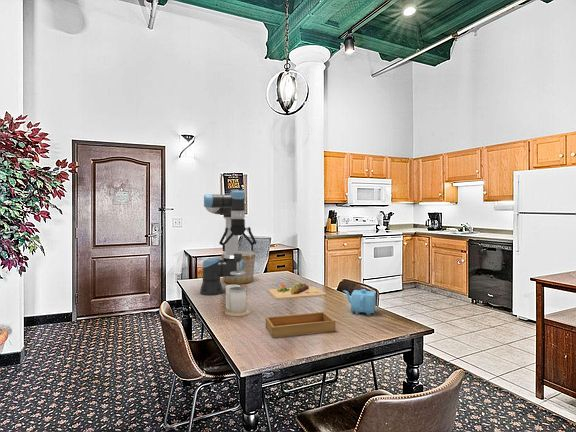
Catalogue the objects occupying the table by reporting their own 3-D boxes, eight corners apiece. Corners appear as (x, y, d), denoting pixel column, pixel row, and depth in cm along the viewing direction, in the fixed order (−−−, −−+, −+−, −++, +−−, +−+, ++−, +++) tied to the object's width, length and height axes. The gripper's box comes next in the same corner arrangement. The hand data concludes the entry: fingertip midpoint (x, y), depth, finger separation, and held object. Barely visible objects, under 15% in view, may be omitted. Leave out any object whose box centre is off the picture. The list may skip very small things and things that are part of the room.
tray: (272, 338, 165) (272, 326, 165) (265, 327, 180) (265, 316, 180) (335, 332, 174) (335, 320, 173) (323, 322, 188) (324, 311, 188)
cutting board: (276, 300, 231) (277, 288, 231) (267, 292, 254) (267, 281, 253) (327, 296, 242) (327, 285, 242) (314, 288, 265) (314, 278, 264)
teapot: (375, 309, 210) (376, 287, 210) (372, 317, 196) (373, 293, 195) (344, 306, 216) (344, 285, 216) (339, 314, 202) (339, 290, 201)
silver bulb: (229, 272, 205) (229, 253, 205) (244, 272, 207) (244, 252, 207) (230, 275, 197) (230, 255, 197) (246, 274, 199) (246, 254, 199)
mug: (246, 304, 219) (246, 287, 219) (226, 306, 216) (226, 288, 216) (244, 301, 227) (244, 284, 227) (225, 302, 224) (225, 284, 224)
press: (224, 309, 208) (224, 286, 208) (248, 308, 212) (248, 285, 211) (226, 317, 195) (226, 292, 194) (252, 315, 198) (252, 290, 198)
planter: (222, 278, 296) (222, 251, 296) (254, 277, 299) (254, 251, 299) (220, 285, 271) (220, 256, 270) (255, 284, 273) (255, 255, 273)
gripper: (215, 218, 195) (215, 258, 195) (261, 218, 201) (261, 257, 201) (214, 218, 202) (214, 256, 202) (259, 218, 208) (259, 255, 209)
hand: (237, 257), depth 202 cm, fingers open, 13 cm apart
